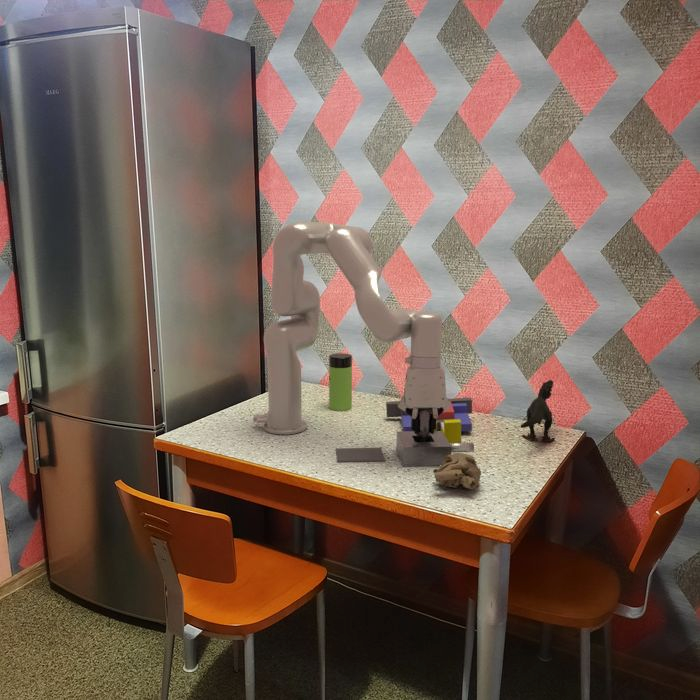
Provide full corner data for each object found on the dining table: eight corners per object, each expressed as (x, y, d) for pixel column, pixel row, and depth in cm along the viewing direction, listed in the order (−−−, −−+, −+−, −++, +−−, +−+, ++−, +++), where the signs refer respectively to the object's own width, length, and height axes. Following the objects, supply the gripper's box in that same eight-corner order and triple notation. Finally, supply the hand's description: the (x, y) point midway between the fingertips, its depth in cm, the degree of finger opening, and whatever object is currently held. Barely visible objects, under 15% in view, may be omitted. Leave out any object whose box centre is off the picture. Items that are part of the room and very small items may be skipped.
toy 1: (388, 425, 172) (385, 387, 201) (390, 454, 174) (386, 413, 203) (485, 421, 171) (467, 383, 200) (485, 450, 173) (467, 409, 202)
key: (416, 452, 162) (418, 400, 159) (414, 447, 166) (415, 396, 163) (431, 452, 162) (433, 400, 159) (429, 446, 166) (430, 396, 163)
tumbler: (336, 412, 202) (336, 359, 198) (324, 406, 208) (324, 354, 205) (355, 409, 206) (356, 356, 202) (343, 403, 212) (344, 352, 209)
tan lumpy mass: (449, 437, 154) (424, 464, 141) (493, 449, 149) (471, 478, 136) (447, 464, 156) (422, 493, 144) (490, 477, 151) (468, 508, 139)
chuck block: (402, 466, 158) (403, 447, 157) (396, 449, 170) (396, 431, 169) (478, 465, 159) (479, 446, 158) (466, 448, 171) (467, 430, 170)
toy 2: (562, 430, 186) (566, 380, 183) (540, 461, 162) (544, 404, 159) (531, 425, 190) (534, 376, 187) (505, 455, 166) (508, 399, 163)
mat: (337, 462, 160) (337, 460, 160) (335, 449, 169) (336, 448, 169) (385, 461, 161) (385, 460, 161) (381, 449, 170) (381, 447, 170)
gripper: (394, 365, 155) (393, 437, 159) (461, 365, 156) (458, 436, 160) (390, 359, 162) (389, 428, 166) (454, 358, 163) (452, 427, 167)
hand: (423, 431), depth 163 cm, fingers closed on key, 3 cm apart
